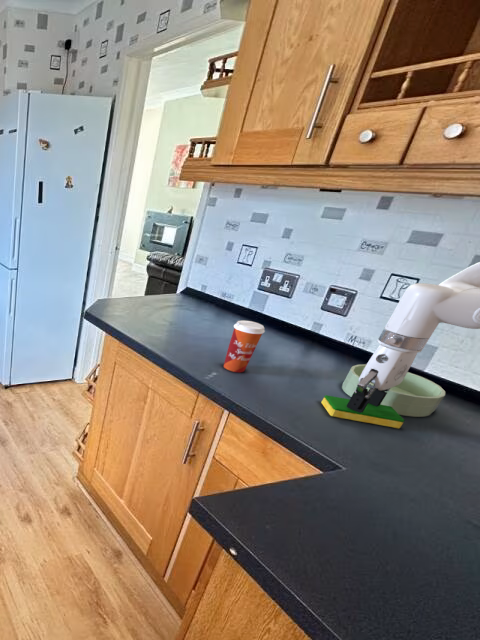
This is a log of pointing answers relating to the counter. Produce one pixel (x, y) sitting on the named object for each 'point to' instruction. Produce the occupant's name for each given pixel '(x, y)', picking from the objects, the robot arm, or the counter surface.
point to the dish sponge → (370, 414)
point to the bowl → (403, 393)
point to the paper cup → (242, 345)
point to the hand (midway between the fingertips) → (362, 406)
